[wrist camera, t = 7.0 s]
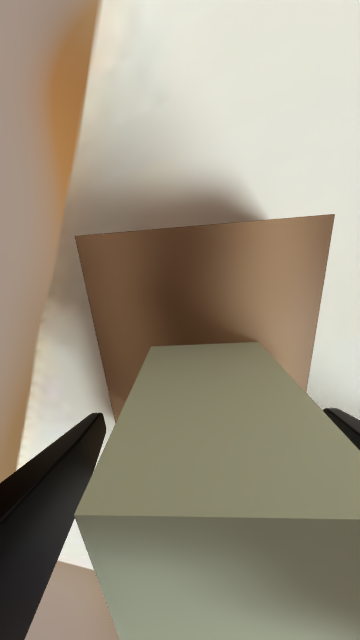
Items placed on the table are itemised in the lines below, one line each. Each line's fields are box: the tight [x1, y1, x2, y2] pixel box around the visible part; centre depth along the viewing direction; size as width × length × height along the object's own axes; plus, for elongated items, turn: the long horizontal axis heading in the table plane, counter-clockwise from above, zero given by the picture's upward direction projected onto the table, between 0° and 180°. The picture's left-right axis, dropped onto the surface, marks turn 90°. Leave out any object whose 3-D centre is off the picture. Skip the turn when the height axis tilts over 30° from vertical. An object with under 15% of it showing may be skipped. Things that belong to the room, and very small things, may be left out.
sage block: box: [74, 342, 360, 640], centre depth 6 cm, size 5×5×6 cm
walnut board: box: [75, 214, 335, 423], centre depth 11 cm, size 10×15×4 cm, turn 4°
